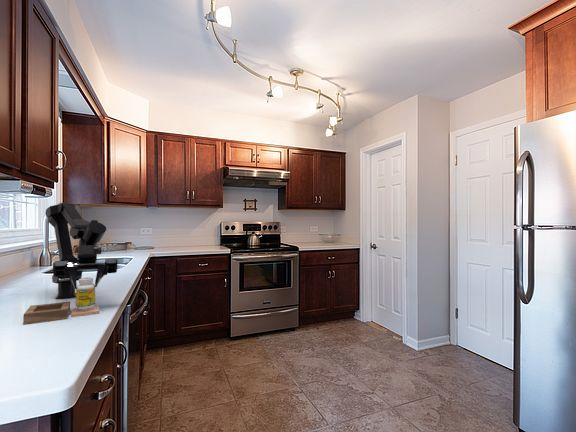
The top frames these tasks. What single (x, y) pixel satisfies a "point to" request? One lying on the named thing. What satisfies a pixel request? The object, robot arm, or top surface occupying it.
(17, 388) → the top surface
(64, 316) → the pocket block
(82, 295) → the supplement bottle
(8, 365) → the top surface
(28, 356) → the top surface
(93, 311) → the coaster
